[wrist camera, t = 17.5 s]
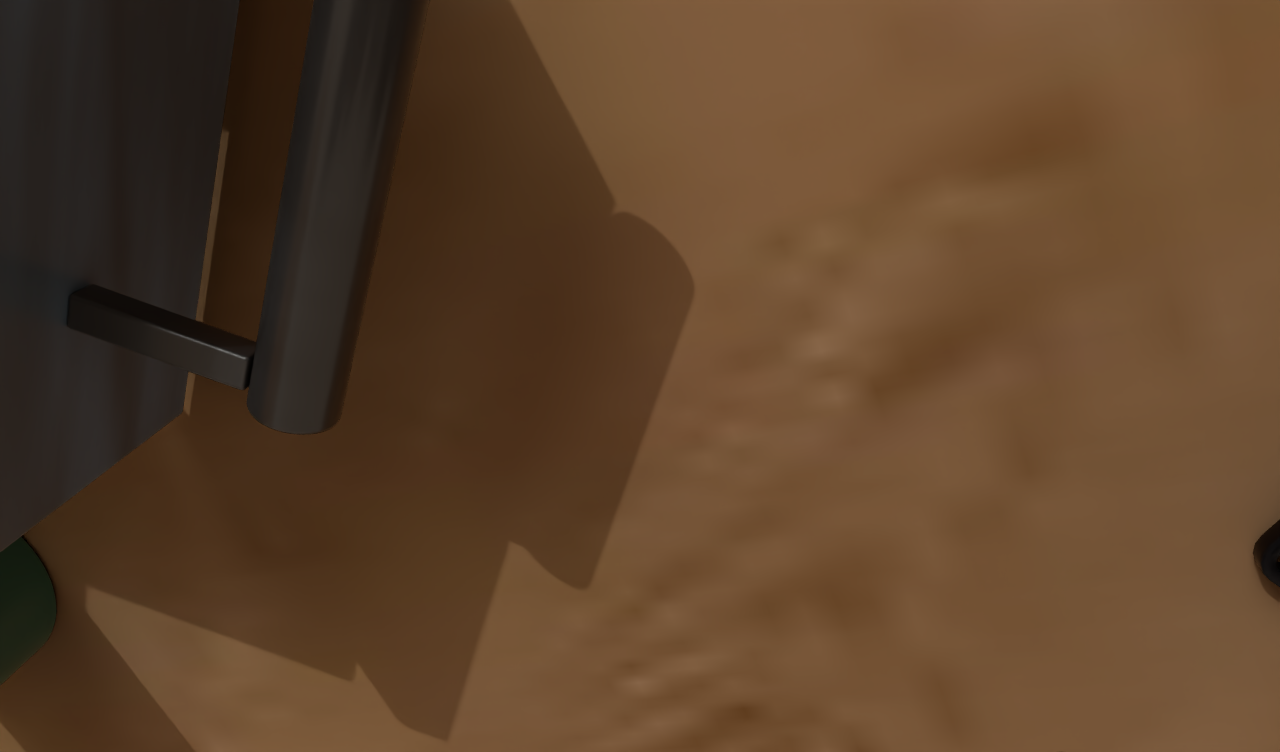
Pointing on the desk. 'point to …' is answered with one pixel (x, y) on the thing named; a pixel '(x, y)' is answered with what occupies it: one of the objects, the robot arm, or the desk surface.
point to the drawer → (173, 226)
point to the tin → (23, 606)
